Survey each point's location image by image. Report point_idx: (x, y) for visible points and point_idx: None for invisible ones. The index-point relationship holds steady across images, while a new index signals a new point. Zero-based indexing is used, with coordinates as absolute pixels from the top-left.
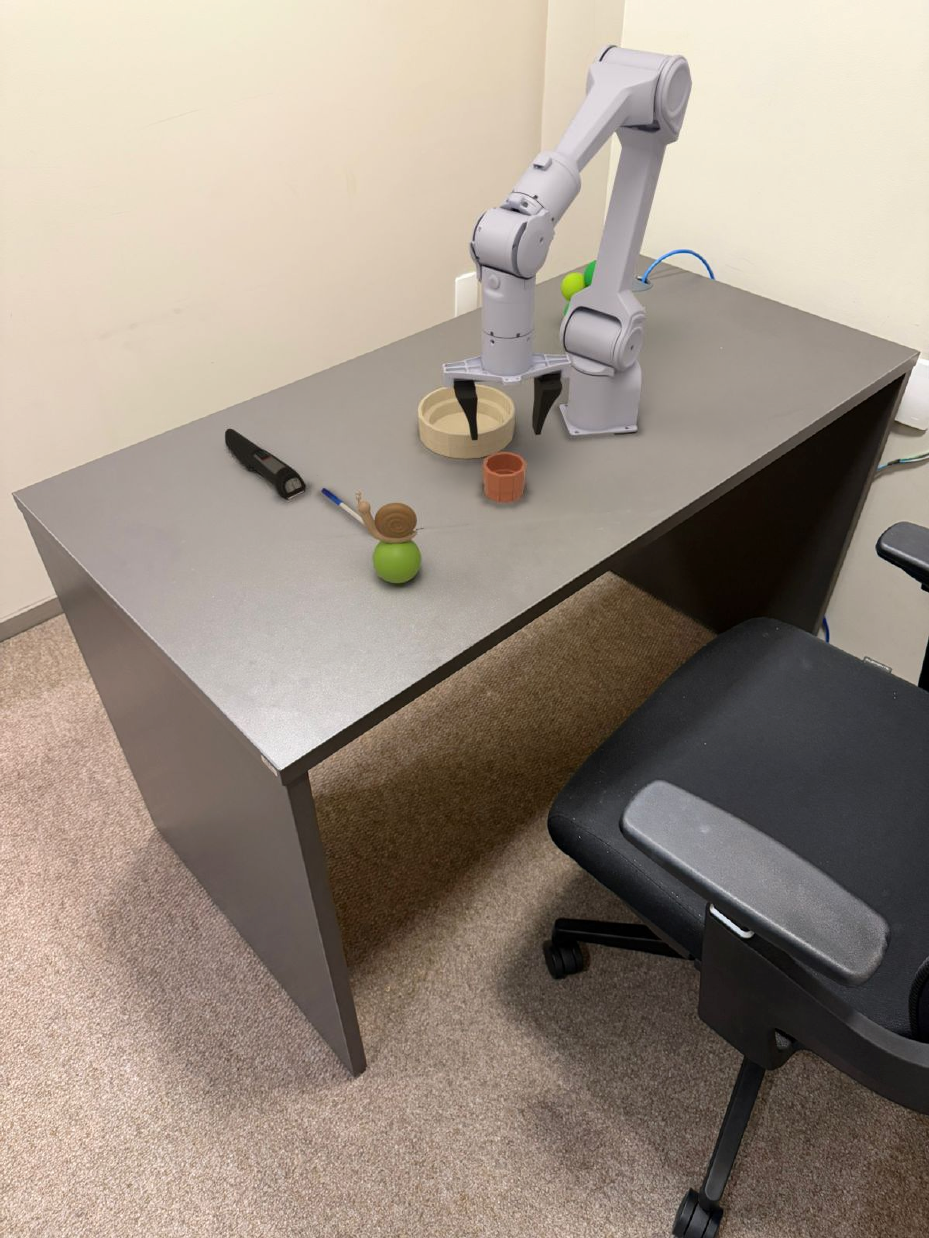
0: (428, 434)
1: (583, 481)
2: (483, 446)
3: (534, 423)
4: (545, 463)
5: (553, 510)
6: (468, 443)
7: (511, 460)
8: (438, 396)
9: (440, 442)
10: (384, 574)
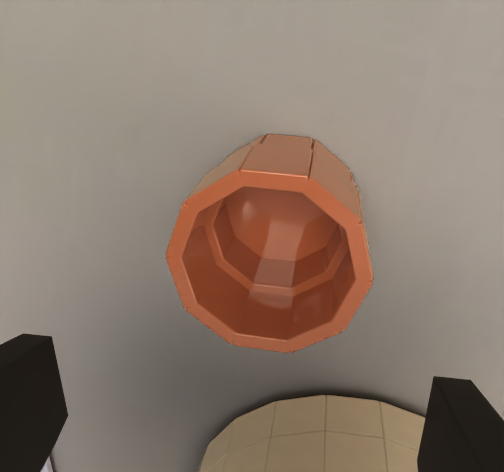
0: None
1: (7, 217)
2: (312, 427)
3: (25, 413)
4: (121, 328)
5: (115, 70)
6: (371, 448)
7: (228, 306)
8: None
9: None
10: None
